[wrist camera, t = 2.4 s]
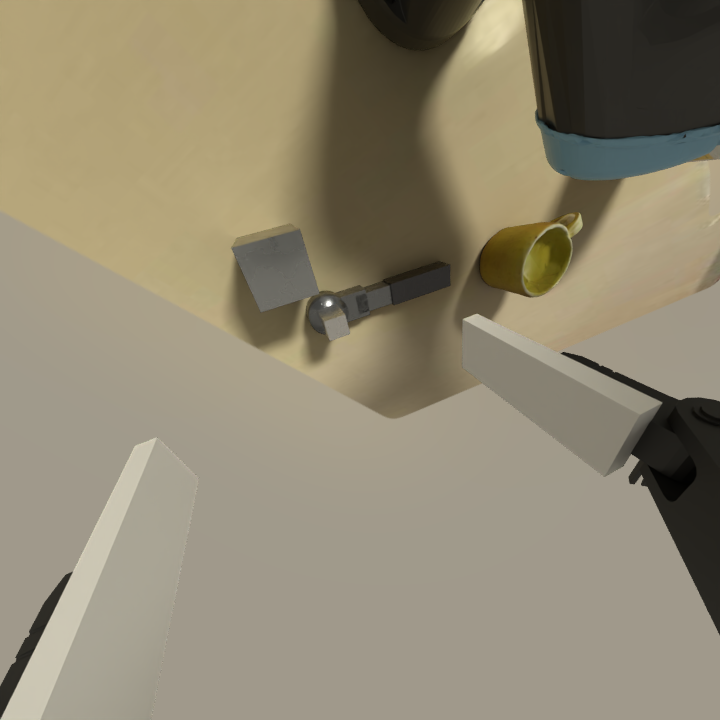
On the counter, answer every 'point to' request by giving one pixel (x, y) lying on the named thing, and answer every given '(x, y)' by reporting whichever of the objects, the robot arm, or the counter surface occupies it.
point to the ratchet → (372, 298)
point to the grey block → (276, 266)
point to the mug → (530, 256)
